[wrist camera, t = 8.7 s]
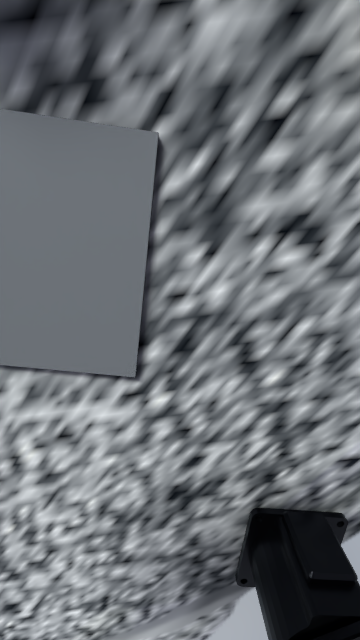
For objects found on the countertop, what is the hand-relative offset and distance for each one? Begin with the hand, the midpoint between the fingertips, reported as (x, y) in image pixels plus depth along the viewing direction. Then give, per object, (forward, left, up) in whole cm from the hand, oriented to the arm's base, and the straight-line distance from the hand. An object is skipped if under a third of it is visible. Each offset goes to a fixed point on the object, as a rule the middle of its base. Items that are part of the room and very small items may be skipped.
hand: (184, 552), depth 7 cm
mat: (+4, +6, -12) cm, 14 cm away
